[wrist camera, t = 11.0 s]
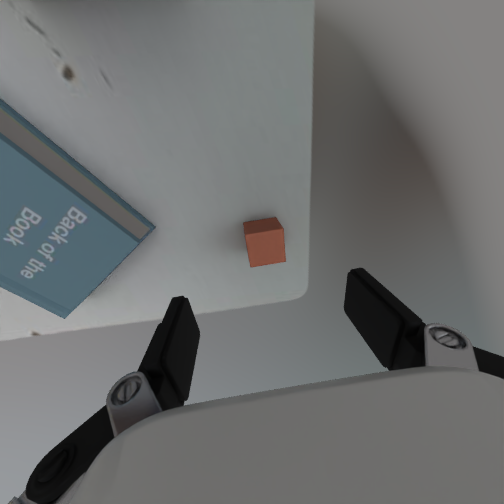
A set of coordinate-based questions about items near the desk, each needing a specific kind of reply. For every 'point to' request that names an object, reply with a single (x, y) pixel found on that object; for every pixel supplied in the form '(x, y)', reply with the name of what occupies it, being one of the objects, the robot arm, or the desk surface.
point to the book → (57, 221)
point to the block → (264, 241)
